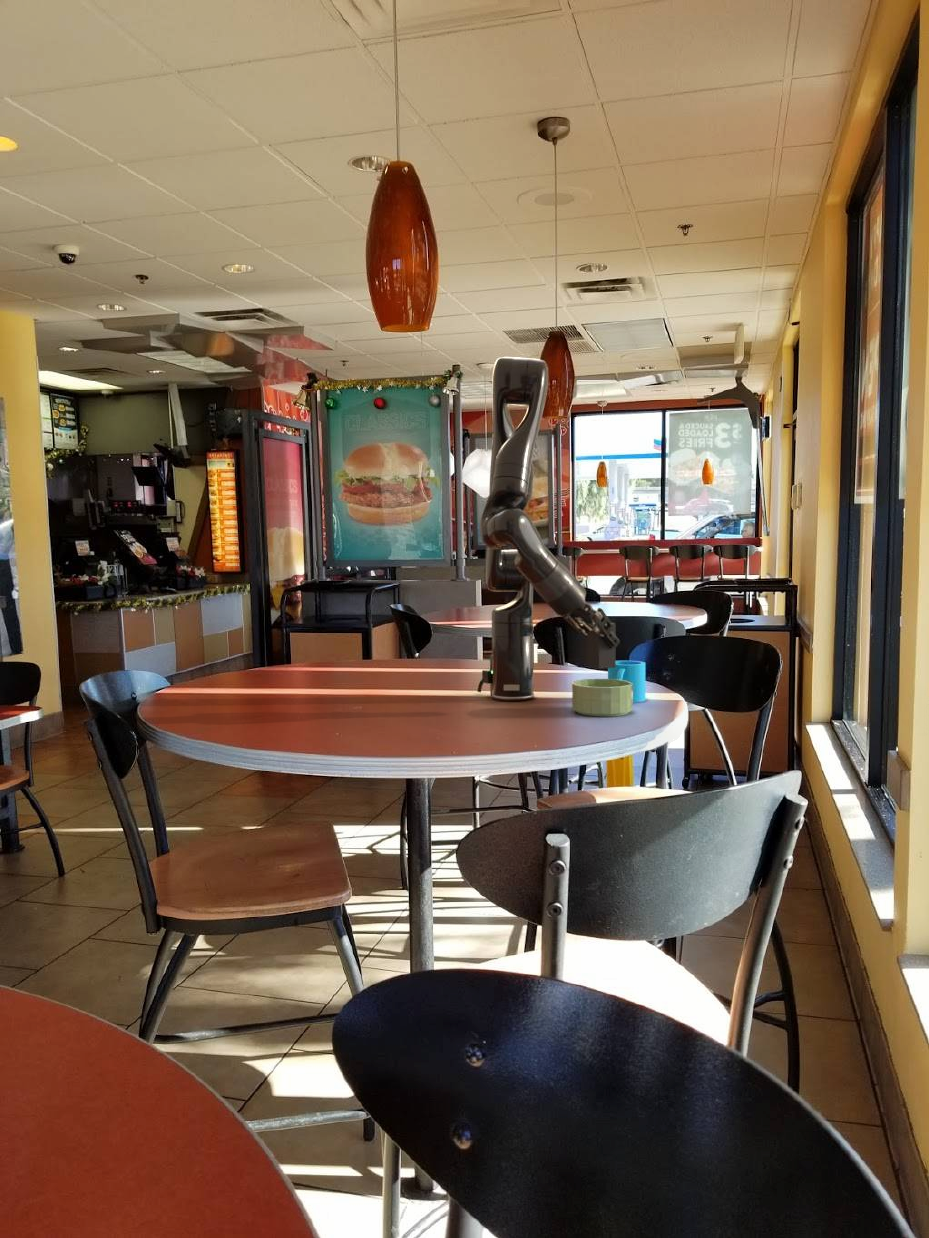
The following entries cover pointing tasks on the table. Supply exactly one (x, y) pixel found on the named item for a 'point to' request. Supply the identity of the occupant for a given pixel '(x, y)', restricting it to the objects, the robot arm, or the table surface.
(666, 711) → the table surface
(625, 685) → the bowl
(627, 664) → the mug
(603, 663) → the dark rectangular block
